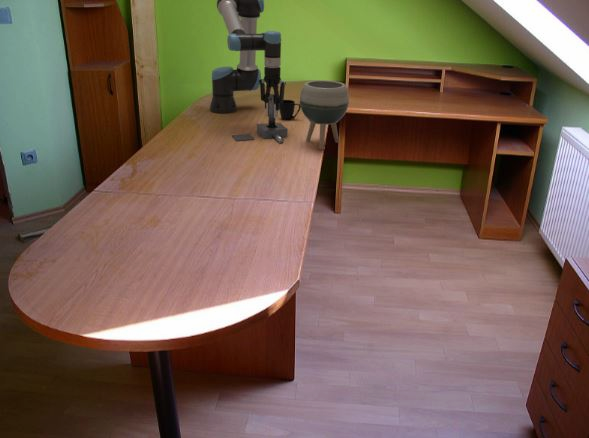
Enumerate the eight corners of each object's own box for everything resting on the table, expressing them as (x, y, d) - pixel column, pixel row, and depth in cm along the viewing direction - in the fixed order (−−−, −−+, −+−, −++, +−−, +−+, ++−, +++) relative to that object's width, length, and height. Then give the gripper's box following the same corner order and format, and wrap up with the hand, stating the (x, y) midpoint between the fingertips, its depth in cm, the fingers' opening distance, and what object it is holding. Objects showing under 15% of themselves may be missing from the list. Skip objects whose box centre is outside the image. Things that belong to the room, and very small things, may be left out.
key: (265, 125, 260) (265, 95, 254) (271, 122, 266) (272, 93, 260) (272, 126, 259) (272, 96, 253) (277, 123, 265) (278, 93, 258)
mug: (296, 122, 286) (296, 104, 282) (276, 119, 291) (276, 101, 287) (303, 119, 293) (303, 101, 289) (283, 116, 297) (283, 99, 293)
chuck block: (256, 132, 268) (256, 124, 266) (279, 130, 272) (279, 122, 270) (269, 144, 250) (269, 136, 248) (293, 142, 254) (293, 134, 252)
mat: (231, 135, 261) (231, 134, 261) (249, 134, 264) (249, 133, 263) (236, 141, 253) (236, 140, 253) (254, 139, 256) (254, 138, 256)
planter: (350, 140, 259) (355, 82, 247) (338, 154, 240) (343, 91, 228) (306, 135, 265) (309, 77, 253) (291, 148, 246) (293, 86, 234)
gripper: (253, 66, 251) (253, 115, 261) (285, 69, 245) (284, 120, 255) (260, 63, 257) (260, 112, 267) (291, 67, 251) (290, 116, 261)
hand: (272, 116), depth 261 cm, fingers closed on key, 3 cm apart
